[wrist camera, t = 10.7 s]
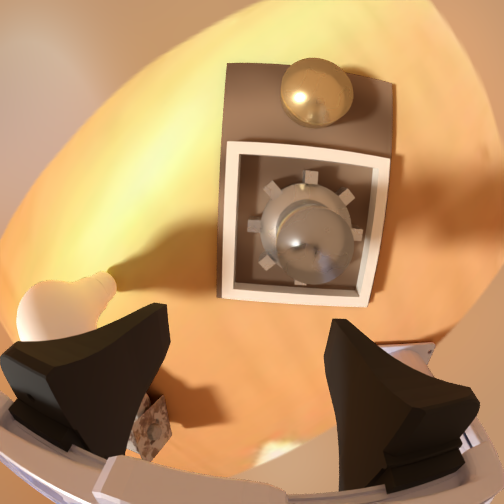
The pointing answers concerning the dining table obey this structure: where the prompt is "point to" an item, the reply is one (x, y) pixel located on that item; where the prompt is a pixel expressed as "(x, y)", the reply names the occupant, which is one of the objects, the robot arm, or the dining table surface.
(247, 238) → the carrier board
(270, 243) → the planet gear
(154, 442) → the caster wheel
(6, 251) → the dining table surface
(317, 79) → the golden brown dome
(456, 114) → the dining table surface
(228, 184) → the carrier pocket
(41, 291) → the lightbulb
